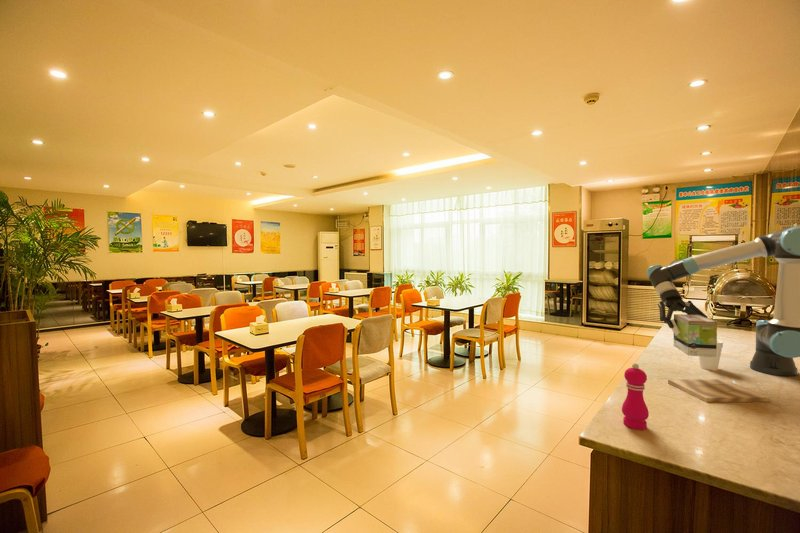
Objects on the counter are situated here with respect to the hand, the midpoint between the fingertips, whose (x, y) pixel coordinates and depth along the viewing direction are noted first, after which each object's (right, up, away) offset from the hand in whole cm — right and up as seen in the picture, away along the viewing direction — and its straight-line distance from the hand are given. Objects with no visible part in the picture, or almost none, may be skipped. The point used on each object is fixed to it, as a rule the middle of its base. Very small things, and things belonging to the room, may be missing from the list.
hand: (693, 334), depth 154 cm
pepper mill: (-50, -22, -39) cm, 67 cm away
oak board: (-1, -20, -12) cm, 24 cm away
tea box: (-1, -7, -1) cm, 8 cm away
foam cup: (+20, -19, +16) cm, 32 cm away
